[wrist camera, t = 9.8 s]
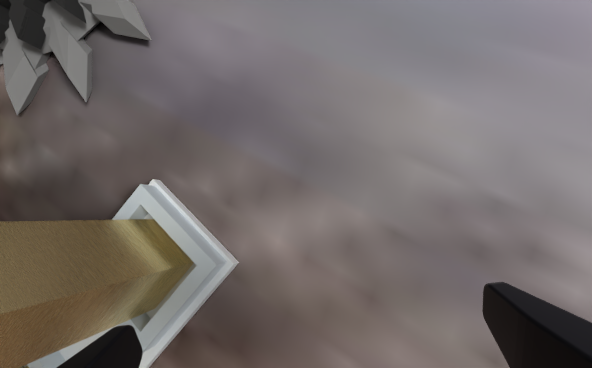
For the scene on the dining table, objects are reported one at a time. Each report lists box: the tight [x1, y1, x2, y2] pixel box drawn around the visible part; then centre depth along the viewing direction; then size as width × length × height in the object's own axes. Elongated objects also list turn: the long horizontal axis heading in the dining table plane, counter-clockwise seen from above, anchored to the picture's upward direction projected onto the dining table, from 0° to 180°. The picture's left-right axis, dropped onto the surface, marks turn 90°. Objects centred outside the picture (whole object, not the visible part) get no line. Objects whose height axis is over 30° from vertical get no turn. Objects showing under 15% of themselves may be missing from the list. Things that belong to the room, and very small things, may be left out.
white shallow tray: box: [19, 179, 239, 368], centre depth 23 cm, size 9×23×2 cm, turn 138°
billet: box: [0, 219, 194, 368], centre depth 17 cm, size 4×4×12 cm
